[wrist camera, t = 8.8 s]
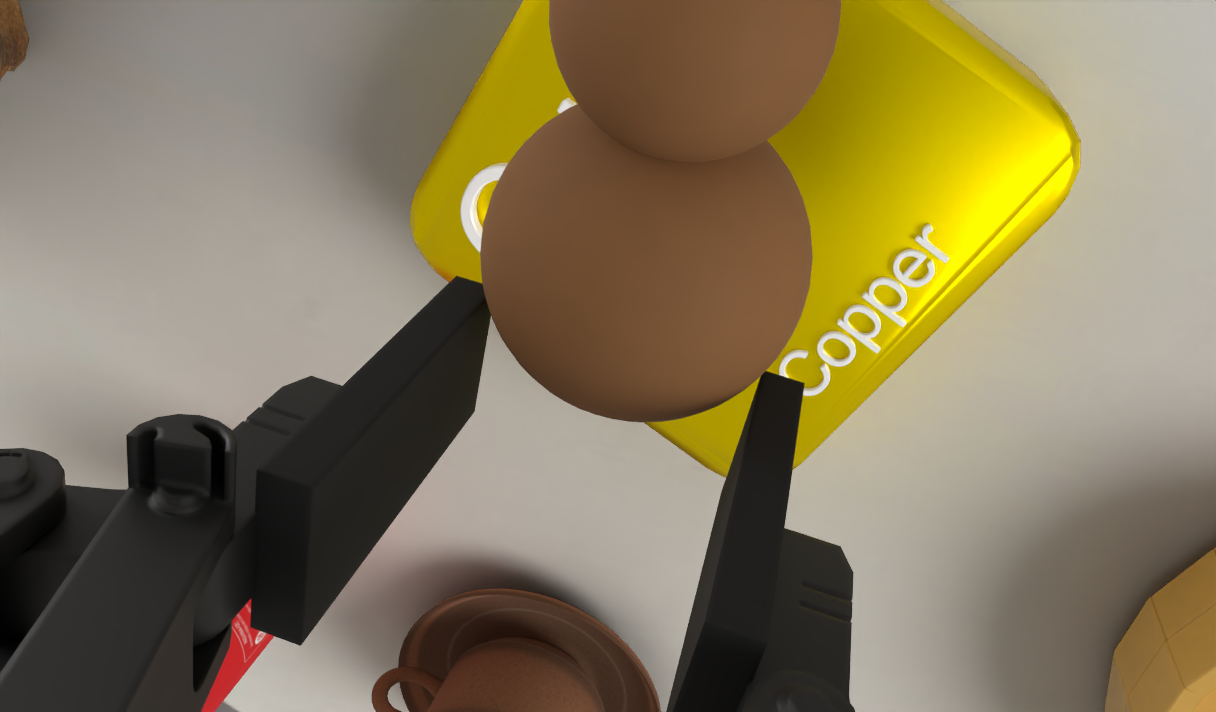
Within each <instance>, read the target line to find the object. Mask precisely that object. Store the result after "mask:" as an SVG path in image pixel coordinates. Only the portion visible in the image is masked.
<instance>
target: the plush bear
mask: <svg viewBox="0 0 1216 712" xmlns="http://www.w3.org/2000/svg"><path fill="white" fill-rule="evenodd" d="M840 14H841V0H549V27H550V35H551V42H552V46H553V50H554V54H555V58H556V61H557V65H558V68H559V70H560V72H561V75H562V77H563V79H564V81H565V83H566V85H567V87H568V90H569V91H570V93H571V94H572V96H573V97H574V99H575V101H576V102H577V103H578V104H576V105H574V106H572V107H570V108H568V109H566V110H565V111H563V112H562V113H560V114H558V115H557V116H555V117H554V118H552V119H551V120H549V121H548V122H546V123H545V124H544V125H543V126H542V127H540V128H539V129H538V130H537V131H536V132H535V133H534V134H533V135H532V136H531V137H530V138H529V139H528V140H526V141H525V142H524V144H523V145H522V146H521V147H520V148H519V150H518V151H517V152H516V153H515V155H514V156H513V158H512V159H511V160H510V162H509V163H508V164H507V166H506V168H505V169H504V171H503V173H502V175H501V177H500V179H499V181H498V183H497V185H496V187H495V189H494V191H493V193H492V196H491V199H490V203H489V206H488V209H487V212H486V216H485V219H484V223H483V231H482V239H481V250H480V260H481V275H482V284H483V288H484V293H485V297H486V301H487V304H488V307H489V311H490V314H491V316H492V319H493V321H494V323H495V325H496V328H497V330H498V332H499V334H500V336H501V338H502V339H503V341H504V343H505V344H506V346H507V347H508V349H509V350H510V351H511V353H512V354H513V356H514V357H515V358H516V360H517V361H518V362H519V364H520V365H521V366H522V367H523V368H524V369H525V370H526V371H527V372H528V373H529V374H530V375H531V376H532V377H533V378H534V379H535V380H536V381H537V382H538V383H540V384H541V385H542V386H543V387H545V388H546V389H547V390H548V391H550V392H551V393H552V394H554V395H556V396H557V397H559V398H560V399H562V400H563V401H565V402H567V403H569V404H571V405H573V406H575V407H577V408H579V409H582V410H585V411H588V412H590V413H593V414H596V415H600V416H604V417H607V418H611V419H617V420H623V421H631V422H664V421H670V420H677V419H682V418H685V417H689V416H692V415H696V414H699V413H702V412H705V411H707V410H709V409H712V408H714V407H717V406H719V405H721V404H722V403H724V402H726V401H728V400H729V399H731V398H733V397H734V396H736V395H737V394H739V393H741V392H742V391H744V390H745V389H746V388H747V387H749V386H750V385H751V384H752V383H754V382H755V381H756V380H757V379H758V378H759V377H760V376H761V375H762V374H763V373H764V372H765V371H766V370H767V369H768V368H769V367H770V366H771V365H772V363H773V362H774V361H775V360H776V359H777V358H778V356H779V355H780V353H781V352H782V350H783V349H784V348H785V346H786V345H787V343H788V341H789V339H790V338H791V336H792V334H793V333H794V330H795V328H796V326H797V324H798V322H799V320H800V317H801V315H802V312H803V309H804V306H805V303H806V299H807V295H808V291H809V287H810V279H811V271H812V260H813V253H812V240H811V228H810V223H809V219H808V215H807V211H806V207H805V204H804V200H803V197H802V195H801V193H800V190H799V188H798V186H797V184H796V182H795V180H794V177H793V175H792V173H791V171H790V170H789V168H788V167H787V166H786V164H785V163H784V161H783V160H782V158H781V157H780V155H779V154H778V153H777V151H776V150H775V148H774V147H773V146H772V145H771V144H770V143H769V142H768V141H767V140H768V139H769V138H771V137H772V136H774V135H775V134H776V133H778V132H779V131H780V130H782V129H783V128H784V127H785V126H786V125H787V124H789V123H790V122H791V121H792V120H793V119H794V118H795V117H796V116H797V115H798V114H799V113H800V111H801V110H802V109H803V108H804V106H805V105H806V104H807V102H808V101H809V100H810V98H811V97H812V96H813V95H814V93H815V92H816V90H817V88H818V86H819V85H820V83H821V81H822V79H823V77H824V75H825V73H826V71H827V68H828V66H829V63H830V61H831V58H832V56H833V53H834V50H835V45H836V41H837V37H838V32H839V24H840Z"/></svg>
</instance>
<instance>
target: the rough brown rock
mask: <svg viewBox="0 0 1216 712" xmlns="http://www.w3.org/2000/svg"><path fill="white" fill-rule="evenodd" d="M28 42H29V37H28V34H27V30H26V27H25V23H24V19H23V16H22V12H21V8H20V4H19V0H0V79H1V78H2V77H3V75H4V74H5V73H6V71H14V70H15V69H16V68H17V67H18V66H19V65H20V64H21V63H22V62H23V61H24V60H25V56H26V51H27V47H28Z"/></svg>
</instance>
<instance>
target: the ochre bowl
mask: <svg viewBox="0 0 1216 712" xmlns="http://www.w3.org/2000/svg"><path fill="white" fill-rule="evenodd" d="M1105 712H1216V547H1215V548H1214V550H1211V551H1209V552H1208V553H1207V554H1205V555H1204V556H1203V557H1202V558H1200V559H1199V560H1198V561H1196V562H1195V563H1194V564H1192V565H1191V566H1190V567H1189V568H1187V569H1186V570H1185V571H1183V572H1182V573H1181V574H1179V575H1178V576H1177V577H1176V578H1174V579H1173V580H1172V581H1170V582H1169V583H1168V584H1167V585H1165V586H1164V587H1163V588H1161V589H1160V590H1159V591H1157V592H1156V593H1155V594H1154V595H1152V597H1149V599H1148V600H1147V602H1146V603H1145V605H1144V606H1143V608H1142V609H1141V611H1140V612H1139V614H1138V615H1137V617H1136V618H1135V620H1134V621H1133V623H1132V624H1131V626H1130V627H1129V629H1128V631H1127V632H1126V634H1125V635H1124V637H1123V638H1122V640H1121V641H1120V643H1119V644H1118V646H1117V647H1116V649H1115V650H1114V655H1113V660H1112V666H1111V672H1110V678H1109V685H1108V691H1107V697H1106V703H1105Z"/></svg>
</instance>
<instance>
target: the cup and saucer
mask: <svg viewBox="0 0 1216 712" xmlns="http://www.w3.org/2000/svg"><path fill="white" fill-rule="evenodd" d="M398 682H400V688H401V691H402V695H403V698H404V701H405V703H406V706H407V708H408V710H409V712H661V709H660V703H659V699H658V695H657V692H656V689H655V687H654V684H653V682H652V680H651V678H650V676H649V674H648V672H647V670H646V669H645V667H644V666H643V664H642V663H641V661H640V660H639V659H638V657H637V656H636V655H635V653H634V652H633V651H632V650H631V649H630V648H629V647H628V646H627V645H626V643H625V642H624V641H623V640H621V639H620V638H619V637H618V636H617V635H616V634H615V633H614V632H613V631H611V630H610V629H609V628H607V627H606V626H605V625H604V624H602V623H601V622H599V621H598V620H596V619H595V618H593V617H592V616H590V615H588V614H587V613H585V612H583V611H581V610H580V609H578V608H575V607H573V606H571V605H569V604H567V603H565V602H562V601H559V600H557V599H554V598H551V597H548V596H544V595H541V594H537V593H532V592H528V591H521V590H515V589H482V590H474V591H469V592H465V593H461V594H458V595H455V596H453V597H450V598H448V599H446V600H444V601H442V602H440V603H439V604H437V605H435V606H434V607H433V608H431V609H430V610H429V611H427V612H426V613H425V614H424V615H423V616H422V617H421V618H420V619H419V620H418V621H417V622H416V623H415V624H414V625H413V627H412V628H411V630H410V631H409V632H408V634H407V636H406V638H405V640H404V642H403V645H402V648H401V651H400V656H399V664H398V668H395V669H392V670H390V671H388V672H386V673H384V674H383V675H382V676H381V677H380V678H379V679H378V680H377V682H376V683H375V685H374V687H373V690H372V703H373V707H374V709H375V711H376V712H401V711H399V710H397V709H395V708H394V707H392V705H391V704H390V703H389V701H388V697H387V695H388V691H389V689H390V688H391V687H392V686H393V685H394V684H396V683H398Z"/></svg>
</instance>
